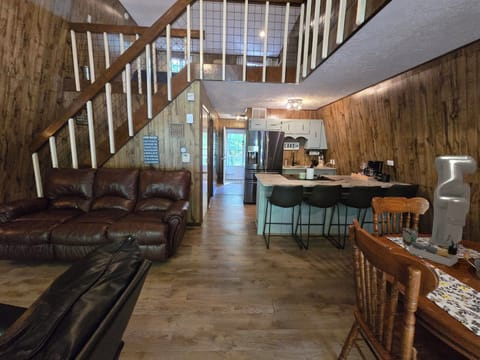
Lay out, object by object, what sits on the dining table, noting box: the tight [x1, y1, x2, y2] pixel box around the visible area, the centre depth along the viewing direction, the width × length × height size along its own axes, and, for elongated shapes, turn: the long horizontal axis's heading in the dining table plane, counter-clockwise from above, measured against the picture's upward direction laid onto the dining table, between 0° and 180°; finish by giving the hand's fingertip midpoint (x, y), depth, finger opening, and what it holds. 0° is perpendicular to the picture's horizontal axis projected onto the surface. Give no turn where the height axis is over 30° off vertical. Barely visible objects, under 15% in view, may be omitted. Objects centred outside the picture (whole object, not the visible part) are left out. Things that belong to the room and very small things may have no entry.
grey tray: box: [408, 246, 459, 267], centre depth 134 cm, size 10×20×4 cm, turn 30°
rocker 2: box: [423, 244, 439, 254], centre depth 132 cm, size 4×6×2 cm
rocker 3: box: [437, 249, 452, 257], centre depth 126 cm, size 4×6×2 cm
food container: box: [402, 227, 419, 247], centre depth 151 cm, size 12×6×10 cm, turn 168°
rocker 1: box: [411, 241, 425, 249], centre depth 138 cm, size 4×6×2 cm
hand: (452, 254), depth 123 cm, fingers closed
